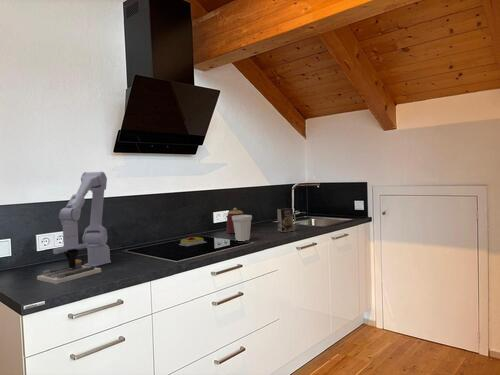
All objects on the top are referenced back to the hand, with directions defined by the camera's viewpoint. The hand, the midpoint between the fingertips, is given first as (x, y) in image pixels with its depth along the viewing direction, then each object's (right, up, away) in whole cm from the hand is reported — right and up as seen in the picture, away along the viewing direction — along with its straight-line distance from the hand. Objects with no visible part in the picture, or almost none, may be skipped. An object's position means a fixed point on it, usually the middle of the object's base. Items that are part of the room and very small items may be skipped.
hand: (72, 267), depth 155 cm
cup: (+71, +1, +67) cm, 98 cm away
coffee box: (+100, +3, +96) cm, 139 cm away
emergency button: (+41, -1, +66) cm, 77 cm away
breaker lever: (+1, -1, +2) cm, 2 cm away
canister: (+66, +2, +101) cm, 121 cm away
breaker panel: (0, -3, -1) cm, 3 cm away
